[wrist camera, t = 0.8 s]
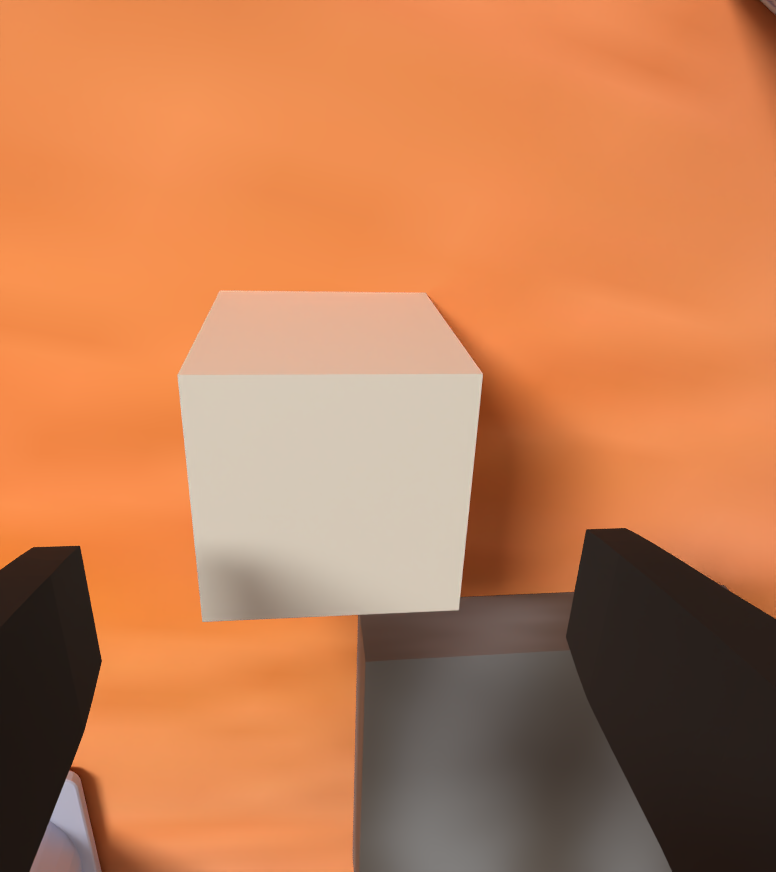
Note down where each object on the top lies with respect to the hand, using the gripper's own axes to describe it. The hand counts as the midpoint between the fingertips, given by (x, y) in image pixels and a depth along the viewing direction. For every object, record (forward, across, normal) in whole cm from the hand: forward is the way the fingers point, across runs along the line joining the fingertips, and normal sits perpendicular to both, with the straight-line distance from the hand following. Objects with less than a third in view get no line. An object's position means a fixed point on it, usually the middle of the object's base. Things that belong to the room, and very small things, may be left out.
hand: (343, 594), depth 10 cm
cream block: (+9, 0, 0) cm, 9 cm away
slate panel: (+9, -7, +13) cm, 17 cm away
